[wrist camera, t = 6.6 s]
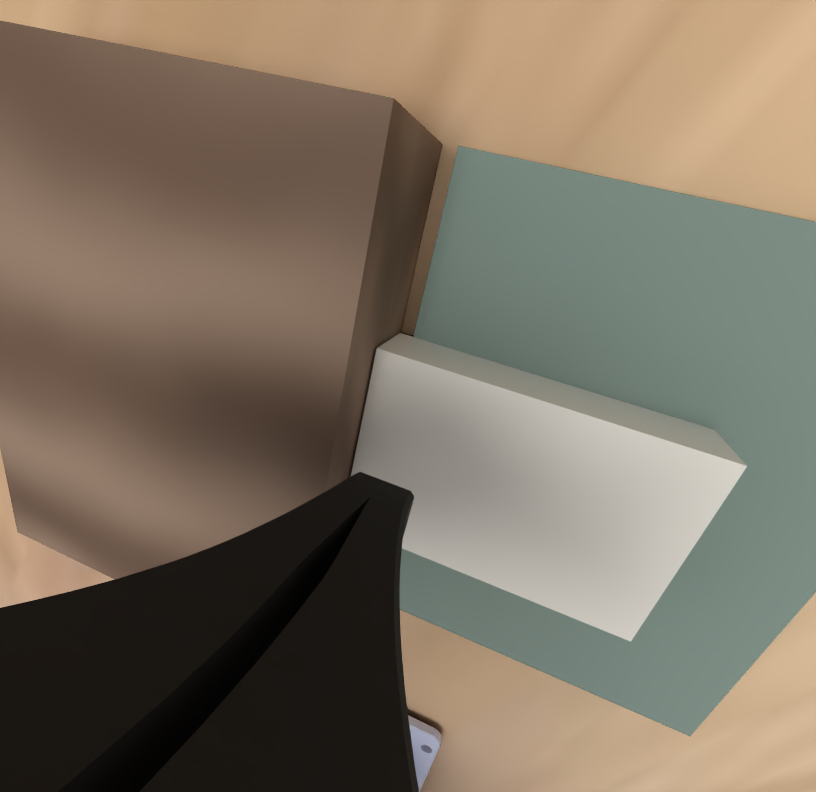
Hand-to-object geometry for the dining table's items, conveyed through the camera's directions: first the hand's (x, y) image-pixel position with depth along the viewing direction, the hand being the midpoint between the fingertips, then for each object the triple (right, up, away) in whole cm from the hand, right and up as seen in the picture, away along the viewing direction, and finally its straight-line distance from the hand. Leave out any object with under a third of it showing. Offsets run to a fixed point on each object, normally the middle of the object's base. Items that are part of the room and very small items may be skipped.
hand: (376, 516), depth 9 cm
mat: (+6, 0, +4) cm, 7 cm away
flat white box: (+4, +1, +4) cm, 6 cm away
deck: (-6, +4, +6) cm, 9 cm away
